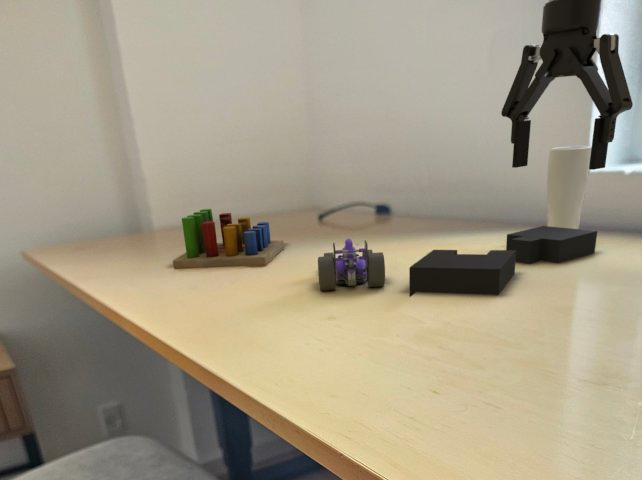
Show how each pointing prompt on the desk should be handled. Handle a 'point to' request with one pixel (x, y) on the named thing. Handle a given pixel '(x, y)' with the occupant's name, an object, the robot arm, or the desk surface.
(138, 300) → the desk surface
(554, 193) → the drinking glass
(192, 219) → the peg board
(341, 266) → the toy race car
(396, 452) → the desk surface
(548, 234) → the tab pad
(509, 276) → the notch pad
